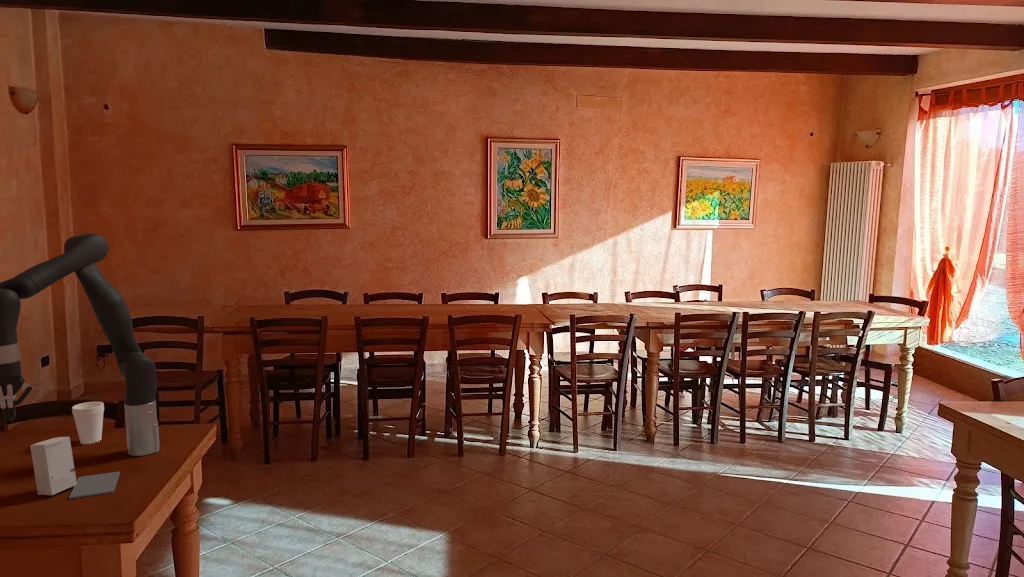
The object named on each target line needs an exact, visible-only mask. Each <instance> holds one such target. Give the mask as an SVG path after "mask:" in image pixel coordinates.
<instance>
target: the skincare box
mask: <svg viewBox="0 0 1024 577" xmlns="http://www.w3.org/2000/svg"><path fill="white" fill-rule="evenodd" d="M71 444H72V443H71V438H70V436H56V437H53V438H50V439H46V440H43V441H40V442H36V443H34V444H31V445H30V446H29V449H30V453H31V458H32V459H31V460H32V465H33V470H34V478H35V485H36V492H37V495H38V496H42V495H44V496H55V495H56V494H58V493H61V492H63V491H65V490H67V489H71V488H74V486H75V485H77V476H76V468H75V464H74V458H73V457H74V456H73V450H72V445H71Z"/></svg>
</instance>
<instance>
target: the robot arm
mask: <svg viewBox="0 0 1024 577" xmlns="http://www.w3.org/2000/svg"><path fill="white" fill-rule="evenodd" d="M109 249H110V248H109V244H108V241H107V240H106V239H105V238H104V236H102V235H99V234H96V233H85V234H80V235H74V236H70V237H68V238H67V239H66V240H65V241H64V244H63V253H62V254H60V255H57V256H55V257H52V258H51V259H48V260H44V261H43V262H39V263H37V264H35V265H33V266H31V267H29V268H28V269H26V270H24V271H22V272H21V273H19V274H17V275H15V276H14V277H12V278H9V279H6V280H3V281H0V409H1V415H2V416H1V417H2V420H5V422H11V421H13V420H14V419H15V418H16V416H17V415H16V406H19V405H21V404H23V401H25V399H26V398H27V396H28V395H29V394H30V393H31V391H32V390H33V389H34V388H35V385H34V384H29V383H27V382H26V381H25V379H24V377H23V373H22V363H21V362H22V361H21V360H22V359H21V352H20V348H19V343H18V342H19V341H18V339H19V338H18V331H17V327H18V323H19V320H20V314H21V313H20V312H21V306H22V304H21V300H25V299H29V298H32V297H34V296H36V295H37V294H39V293H41V292H42V291H44V290H45V289H47V288H48V287H50V286H52V285H54V284H55V283H56V282H59V281H61V279H63V278H65V277H67V276H70V275H71V274H73V273H75V275H76V277H77V279H78V280H79V283H80V284H81V287H82V289H83V292H84V293H85V295H86V296H87V299H88V301H89V303H90V305H91V309H92V310H93V313H94V315H95V317H96V319H97V321H98V323H99V325H100V327H101V329H102V331H103V334H104V335H105V337H106V338H107V341H108V342H109V344H110V346H111V348H112V350H113V351H112V352H113V354H114V357H115V359H116V364H117V366H118V367H117V368H118V369H119V372H120V374H121V376H122V377H123V378H124V379H125V394H124V397H123V400H124V401H123V402H124V404H123V405H124V417H125V429H126V443H127V454H128V455H129V456H133V457H134V456H135V457H138V456H140V457H141V456H147V455H151V454H153V453H158V452H159V451H160V436H159V435H160V431H159V420H158V417H157V399H156V395H157V391H158V389H157V388H158V387H157V386H158V382H157V381H158V380H157V368H156V364H155V362H154V361H153V359H151V358H150V357H148V356H146V355H145V354H144V353H143V351H142V349H141V348H140V346H139V344H138V341H137V340H136V337H135V334H134V326H133V320H132V315H131V313H130V310H129V308H128V306H127V303H126V301H125V299H124V296H123V295H122V294H121V292H120V291H119V290H118V289H117V288H116V287H114V286H113V285H112V283H110V282H109V281H108V279H106V278H105V277H104V276H103V274H102V273H101V271H100V269H99V267H98V264H97V263H99V262H100V261H103V260H104V259H105V258H106V256H107V255H108V253H109ZM20 389H22V390H21V391H22V394H20V396H19V397H18V398H17V399H16V396H17V394H18V392H19V391H20Z"/></svg>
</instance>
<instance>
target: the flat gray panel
mask: <svg viewBox="0 0 1024 577" xmlns="http://www.w3.org/2000/svg"><path fill="white" fill-rule="evenodd" d="M120 475H121V471H115V472H113V471H112V472H105V473H98V474H92V475H91V474H90V475H84V476H79V477H78V478H77V479H76V481H77V485H75V486H73V487H72V488H73V489H71V492H70V494H69V496H68V500H73V498H74V499H79V498H80V497H81V498H86V497H87V496H88V497H93V496H100V495H107V494H113V493H114V492H115V490H116V487H117V484H118V481H119V477H120Z"/></svg>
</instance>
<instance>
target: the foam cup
mask: <svg viewBox="0 0 1024 577" xmlns="http://www.w3.org/2000/svg"><path fill="white" fill-rule="evenodd" d="M104 404H105V403H104V402H103V401H87V402H86V401H85V402H82V403H77V404H75V405H73V406H72V407H71V412H72V415H73V419H74V423H75V426H76V431H77V435H78V438H79V443H80V444H81V445H93V444H96V443H95V442H97V443H99V442H101V441H102V437H103V423H104V411H105V405H104ZM100 440H101V441H100ZM98 441H99V442H98ZM92 443H93V444H92Z"/></svg>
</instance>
